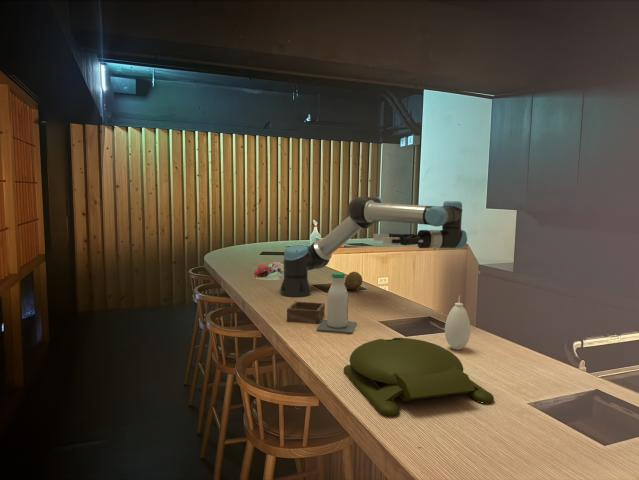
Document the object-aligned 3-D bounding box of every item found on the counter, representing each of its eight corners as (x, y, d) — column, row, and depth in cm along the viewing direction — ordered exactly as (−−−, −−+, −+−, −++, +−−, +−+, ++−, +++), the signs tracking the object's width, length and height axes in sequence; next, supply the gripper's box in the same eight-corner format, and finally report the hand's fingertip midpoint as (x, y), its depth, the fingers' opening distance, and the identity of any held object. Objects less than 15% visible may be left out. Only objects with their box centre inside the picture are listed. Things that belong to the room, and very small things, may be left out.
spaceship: (498, 405, 113) (500, 366, 112) (383, 421, 104) (384, 379, 103) (425, 355, 146) (427, 325, 145) (334, 364, 137) (334, 332, 136)
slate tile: (323, 321, 180) (323, 319, 179) (356, 324, 177) (356, 322, 177) (316, 331, 167) (316, 329, 167) (352, 334, 164) (352, 332, 164)
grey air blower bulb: (439, 346, 153) (441, 293, 151) (458, 343, 156) (460, 292, 154) (454, 354, 146) (457, 299, 144) (474, 351, 149) (477, 297, 147)
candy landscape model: (253, 273, 281) (253, 258, 280) (291, 272, 284) (292, 258, 283) (252, 281, 256) (252, 265, 255) (294, 281, 259) (294, 264, 258)
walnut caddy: (294, 313, 191) (295, 301, 190) (324, 315, 188) (324, 303, 188) (286, 321, 179) (287, 308, 178) (318, 323, 176) (318, 311, 176)
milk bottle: (345, 329, 167) (347, 275, 165) (325, 327, 169) (326, 274, 167) (348, 323, 175) (350, 271, 173) (328, 321, 176) (329, 270, 174)
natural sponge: (362, 293, 231) (363, 273, 229) (345, 292, 231) (345, 273, 230) (361, 289, 240) (362, 270, 238) (344, 288, 240) (345, 269, 239)
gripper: (440, 252, 176) (387, 252, 172) (417, 244, 200) (370, 244, 197) (441, 233, 175) (387, 232, 172) (418, 227, 199) (370, 227, 196)
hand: (378, 239), depth 184 cm, fingers open, 13 cm apart
